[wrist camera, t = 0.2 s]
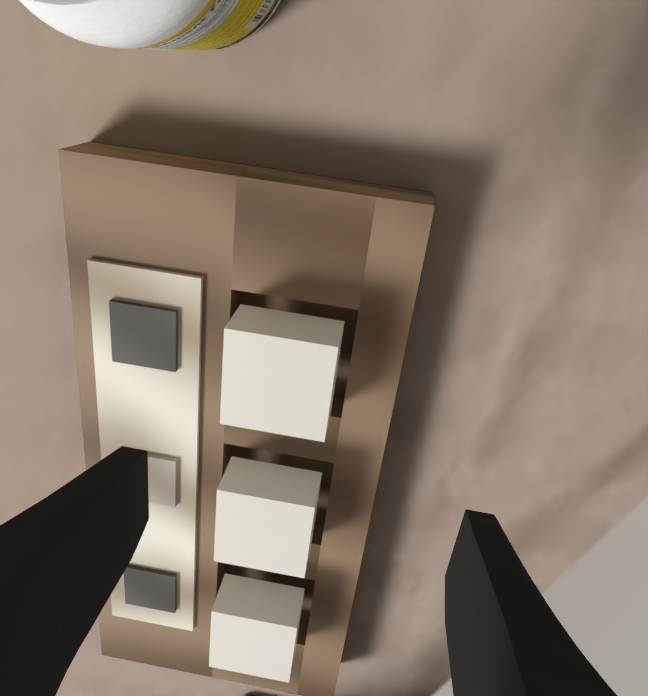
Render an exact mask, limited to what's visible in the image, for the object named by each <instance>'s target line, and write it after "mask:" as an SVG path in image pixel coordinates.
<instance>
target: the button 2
mask: <svg viewBox="0 0 648 696" xmlns="http://www.w3.org/2000/svg"><path fill="white" fill-rule="evenodd" d="M344 322H345V321H340V320H334V319H328V318H322V317H316V316H310V315H304V314H297V313H291V312H285V311H279V310H273V309H267V308H261V307H254V306H248V305H242V304H240V306H239V307H238V309H237V310H236V312H235V313H234V314H233V316H232V317H231V319H230V320H229V322H228V323H227V325H226V326H225V328H224V340H223V363H222V385H221V407H220V424H224V425H230V426H235V427H241V428H247V429H252V430H258V431H264V432H269V433H275V434H281V435H286V436H292V437H298V438H303V439H309V440H315V441H320V442H325V437H326V433H327V428H328V424H329V419H330V414H331V409H332V403H333V396H334V389H335V383H336V376H337V369H338V363H339V356H340V349H341V343H342V336H343V329H344Z"/></svg>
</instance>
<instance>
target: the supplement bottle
mask: <svg viewBox="0 0 648 696" xmlns="http://www.w3.org/2000/svg"><path fill="white" fill-rule="evenodd" d="M19 1H20V2H21V3H22V4H23V5H24V6H25V7H27V8H28V9H29V10H30V11H31V12H32V13H33V14H34V15H36V16H37V17H38V18H40V19H41V20H42V21H44V22H45V23H47V24H48V25H50V26H51V27H53V28H54V29H56V30H58V31H60V32H62V33H63V34H65V35H68V36H70V37H72V38H75V39H77V40H80V41H83V42H86V43H90V44H94V45H98V46H105V47H111V48H119V49H172V50H210V49H221V48H225V47H229V46H232V45H235V44H237V43H239V42H241V41H243V40H245V39H247V38H248V37H250V36H252V35H253V34H254V33H256V32H257V31H258V30H259V29H260V28H261V27H262V26H263V25H264V24H265V23H266V22H267V21H268V20H269V19H270V17H271V16H272V14H273V13H274V12H275V10H276V8H277V6H278V5H279V3H280V1H281V0H19Z"/></svg>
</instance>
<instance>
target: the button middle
mask: <svg viewBox="0 0 648 696" xmlns="http://www.w3.org/2000/svg"><path fill="white" fill-rule="evenodd" d="M321 476H322V472H317V471H311V470H306V469H300V468H294V467H289V466H283V465H278V464H272V463H266V462H261V461H255V460H250V459H244V458H239V457H233V456H232V457H231V459H230V461H229V463H228V466H227V468H226V470H225V472H224V475H223V477H222V479H221V481H220V484H219V486H218V488H217V496H216V519H215V541H214V561H216V562H221V563H226V564H231V565H237V566H242V567H247V568H252V569H258V570H263V571H268V572H273V573H279V574H284V575H289V576H294V577H300V578H305V573H306V568H307V563H308V558H309V553H310V548H311V543H312V537H313V530H314V523H315V517H316V510H317V503H318V496H319V490H320V483H321Z"/></svg>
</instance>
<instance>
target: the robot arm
mask: <svg viewBox="0 0 648 696" xmlns="http://www.w3.org/2000/svg"><path fill="white" fill-rule="evenodd" d="M148 520H149V496H148V451H146V450H141V449H135V448H130V447H124V446H121V447H120V448H118V449H117V450H115V451H114V452H112V453H111V454H109V455H108V456H106V457H105V458H103V459H102V460H100V461H99V462H98V463H96V464H95V465H93V466H92V467H90V468H89V469H88V470H86V471H85V472H83V473H82V474H80V475H79V476H77V477H76V478H74V479H73V480H72V481H70V482H69V483H67V484H66V485H64V486H63V487H61V488H60V489H58V490H57V491H55V492H54V493H52V494H51V495H49V496H48V497H46V498H45V499H43V500H41V501H40V502H38V503H37V504H35V505H33V506H32V507H30V508H28V509H27V510H25V511H23V512H22V513H20V514H19V515H17V516H15V517H14V518H12V519H10V520H9V521H7V522H5V523H4V524H2V525H0V696H55V695H56V693H57V690H58V688H59V686H60V684H61V682H62V680H63V678H64V676H65V674H66V671H67V670H68V668H69V666H70V664H71V662H72V660H73V658H74V657H75V655H76V653H77V651H78V649H79V648H80V646H81V644H82V642H83V641H84V639H85V637H86V636H87V634H88V632H89V631H90V629H91V627H92V626H93V624H94V622H95V621H96V619H97V617H98V616H99V614H100V612H101V610H102V609H103V607H104V605H105V604H106V602H107V600H108V599H109V597H110V595H111V594H112V592H113V590H114V589H115V587H116V585H117V583H118V582H119V580H120V578H121V577H122V575H123V573H124V571H125V570H126V568H127V566H128V564H129V563H130V561H131V559H132V557H133V555H134V552H135V550H136V548H137V546H138V543H139V541H140V539H141V537H142V534H143V532H144V529H145V527H146V525H147V522H148ZM445 625H446V634H447V643H448V652H449V661H450V669H451V678H452V686H453V694H454V696H617V695H616V694H615V693H614V692H613V691H612V689H611V688H610V687H609V686H608V685H607V683H606V682H605V681H604V680H603V679H602V677H601V676H600V675H599V674H598V672H597V671H596V670H595V669H594V668H593V666H592V665H591V664H590V663H589V661H588V660H587V659H586V658H585V656H584V655H583V654H582V652H581V651H580V650H579V648H578V647H577V646H576V644H575V643H574V642H573V640H572V639H571V637H570V636H569V635H568V633H567V632H566V630H565V629H564V628H563V626H562V625H561V623H560V622H559V621H558V619H557V618H556V616H555V615H554V613H553V612H552V610H551V609H550V607H549V606H548V604H547V603H546V601H545V600H544V598H543V596H542V595H541V593H540V592H539V590H538V589H537V587H536V585H535V584H534V582H533V581H532V579H531V577H530V576H529V574H528V573H527V571H526V569H525V568H524V566H523V564H522V563H521V561H520V559H519V557H518V556H517V554H516V552H515V551H514V549H513V547H512V545H511V543H510V542H509V540H508V538H507V536H506V535H505V533H504V531H503V529H502V527H501V526H500V524H499V522H498V520H497V519H496V517H495V516H494V515H493V514H488V513H482V512H477V511H471V510H465V513H464V516H463V520H462V523H461V526H460V529H459V533H458V536H457V539H456V542H455V545H454V549H453V552H452V555H451V558H450V562H449V565H448V568H447V571H446V574H445Z"/></svg>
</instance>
